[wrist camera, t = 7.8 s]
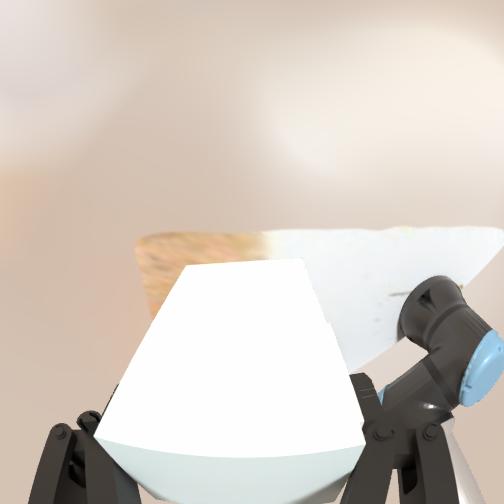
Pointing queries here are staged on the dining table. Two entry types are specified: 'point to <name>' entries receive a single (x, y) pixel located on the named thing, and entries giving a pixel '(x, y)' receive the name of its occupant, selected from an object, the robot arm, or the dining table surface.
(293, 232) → the dining table surface
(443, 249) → the dining table surface
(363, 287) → the dining table surface
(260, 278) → the white stepped block
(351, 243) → the dining table surface
